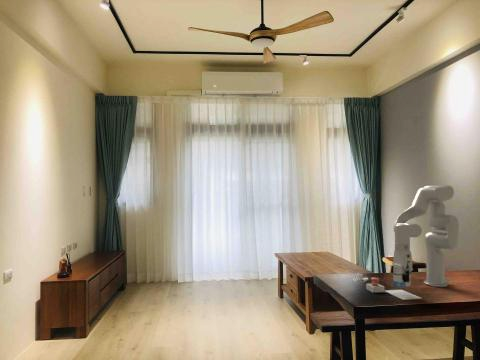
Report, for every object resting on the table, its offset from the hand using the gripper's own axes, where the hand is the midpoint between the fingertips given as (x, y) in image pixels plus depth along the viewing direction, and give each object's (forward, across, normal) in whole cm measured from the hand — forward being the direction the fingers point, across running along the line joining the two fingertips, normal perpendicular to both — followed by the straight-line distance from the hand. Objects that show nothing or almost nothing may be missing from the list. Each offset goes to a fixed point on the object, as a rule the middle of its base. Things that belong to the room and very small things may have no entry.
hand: (402, 280), depth 192 cm
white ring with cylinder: (+9, +30, +6) cm, 32 cm away
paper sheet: (+8, 0, 0) cm, 8 cm away
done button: (+6, +10, +10) cm, 15 cm away
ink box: (+3, 0, 0) cm, 3 cm away
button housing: (+8, +10, +10) cm, 16 cm away
